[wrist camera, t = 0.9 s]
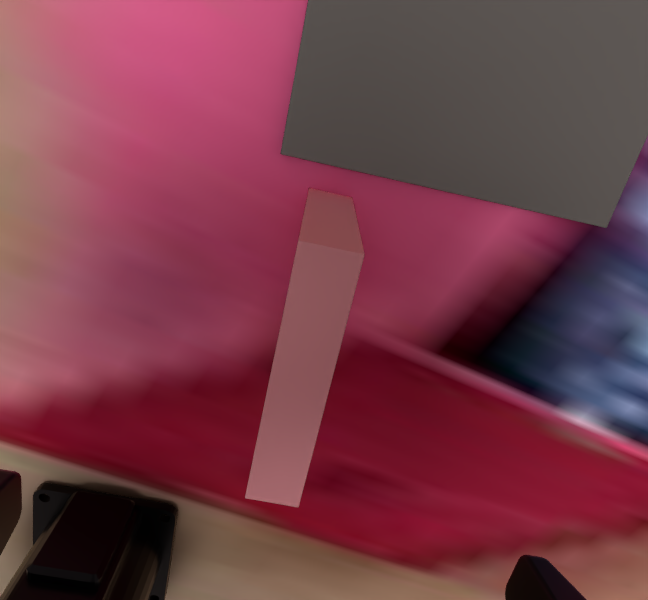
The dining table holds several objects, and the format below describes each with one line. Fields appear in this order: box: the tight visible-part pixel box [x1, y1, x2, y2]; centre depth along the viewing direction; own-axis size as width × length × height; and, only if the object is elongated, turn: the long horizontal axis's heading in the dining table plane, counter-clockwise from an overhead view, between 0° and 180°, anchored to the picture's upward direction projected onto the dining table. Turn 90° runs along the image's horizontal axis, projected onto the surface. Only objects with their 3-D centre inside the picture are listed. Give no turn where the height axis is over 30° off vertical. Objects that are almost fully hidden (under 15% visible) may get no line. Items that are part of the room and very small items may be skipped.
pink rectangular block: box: [245, 188, 365, 507], centre depth 17 cm, size 8×2×7 cm, turn 168°
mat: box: [281, 0, 648, 228], centre depth 16 cm, size 10×12×1 cm
